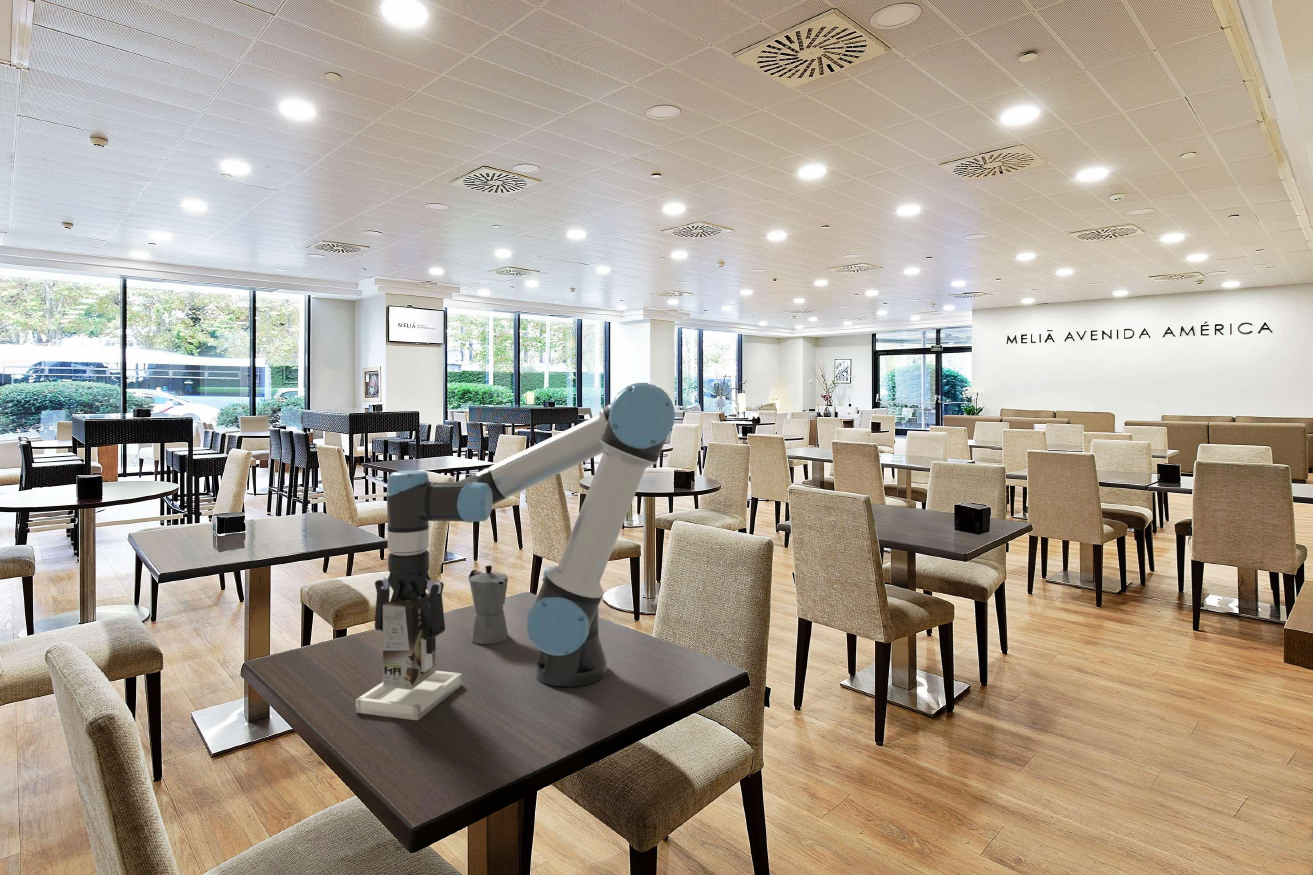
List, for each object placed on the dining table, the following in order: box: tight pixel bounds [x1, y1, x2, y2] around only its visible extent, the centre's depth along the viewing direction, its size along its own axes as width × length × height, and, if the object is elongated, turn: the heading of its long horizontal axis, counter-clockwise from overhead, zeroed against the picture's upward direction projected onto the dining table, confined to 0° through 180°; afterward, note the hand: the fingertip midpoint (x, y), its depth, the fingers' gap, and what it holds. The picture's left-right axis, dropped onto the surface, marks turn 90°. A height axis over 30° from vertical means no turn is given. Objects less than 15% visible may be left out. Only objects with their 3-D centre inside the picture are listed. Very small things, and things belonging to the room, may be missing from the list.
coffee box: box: [382, 592, 437, 690], centre depth 137 cm, size 9×6×16 cm
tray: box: [355, 670, 463, 721], centre depth 138 cm, size 13×16×2 cm
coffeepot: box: [468, 565, 509, 645], centre depth 173 cm, size 15×9×18 cm, turn 44°
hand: (410, 667), depth 138 cm, fingers closed on coffee box, 6 cm apart
